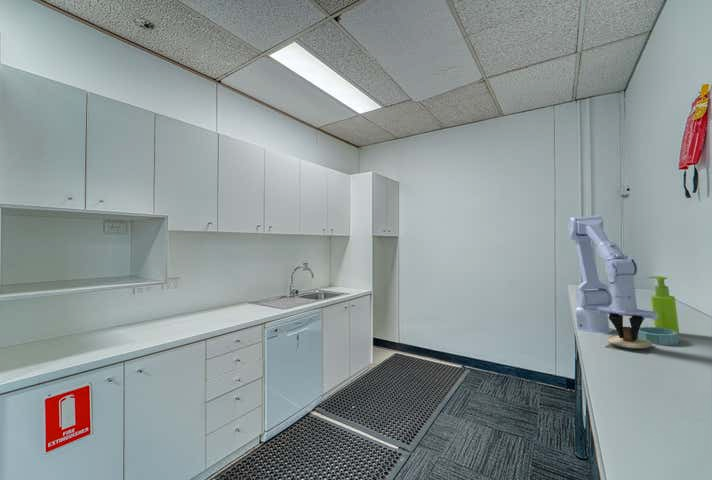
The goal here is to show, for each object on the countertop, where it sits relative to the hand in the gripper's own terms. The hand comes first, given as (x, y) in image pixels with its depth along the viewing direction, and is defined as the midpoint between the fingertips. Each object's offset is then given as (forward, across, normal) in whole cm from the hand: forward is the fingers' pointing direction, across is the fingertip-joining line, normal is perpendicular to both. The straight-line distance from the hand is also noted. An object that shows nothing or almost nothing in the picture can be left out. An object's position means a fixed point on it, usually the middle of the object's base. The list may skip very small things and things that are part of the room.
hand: (628, 338), depth 96 cm
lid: (+1, 0, 0) cm, 1 cm away
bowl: (+3, +4, +12) cm, 13 cm away
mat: (+3, 0, 0) cm, 3 cm away
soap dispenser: (+3, +4, +24) cm, 24 cm away
